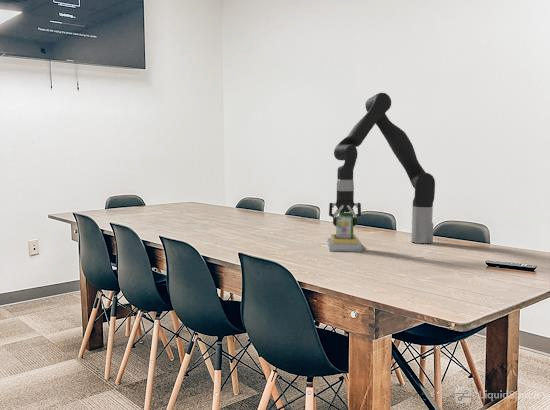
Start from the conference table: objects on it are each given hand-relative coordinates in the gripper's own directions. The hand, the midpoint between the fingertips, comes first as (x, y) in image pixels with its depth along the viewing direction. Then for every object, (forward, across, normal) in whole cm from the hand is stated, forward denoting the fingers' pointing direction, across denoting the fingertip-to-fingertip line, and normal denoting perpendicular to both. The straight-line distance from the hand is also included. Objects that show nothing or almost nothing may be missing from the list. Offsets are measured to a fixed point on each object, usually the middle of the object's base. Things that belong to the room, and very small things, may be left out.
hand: (344, 225), depth 241 cm
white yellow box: (+10, 0, 0) cm, 10 cm away
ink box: (+6, 0, 0) cm, 6 cm away
